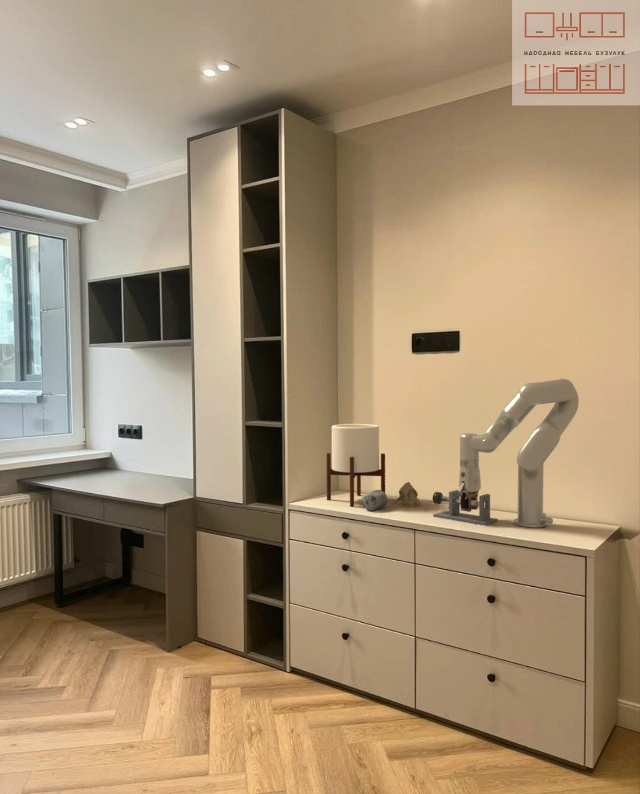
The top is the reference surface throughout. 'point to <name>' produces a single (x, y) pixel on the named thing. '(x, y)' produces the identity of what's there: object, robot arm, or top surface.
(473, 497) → the block
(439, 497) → the shaft
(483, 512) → the grey bearing stand
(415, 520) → the top surface
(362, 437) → the plant pot with stand
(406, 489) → the ceramic model
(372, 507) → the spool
